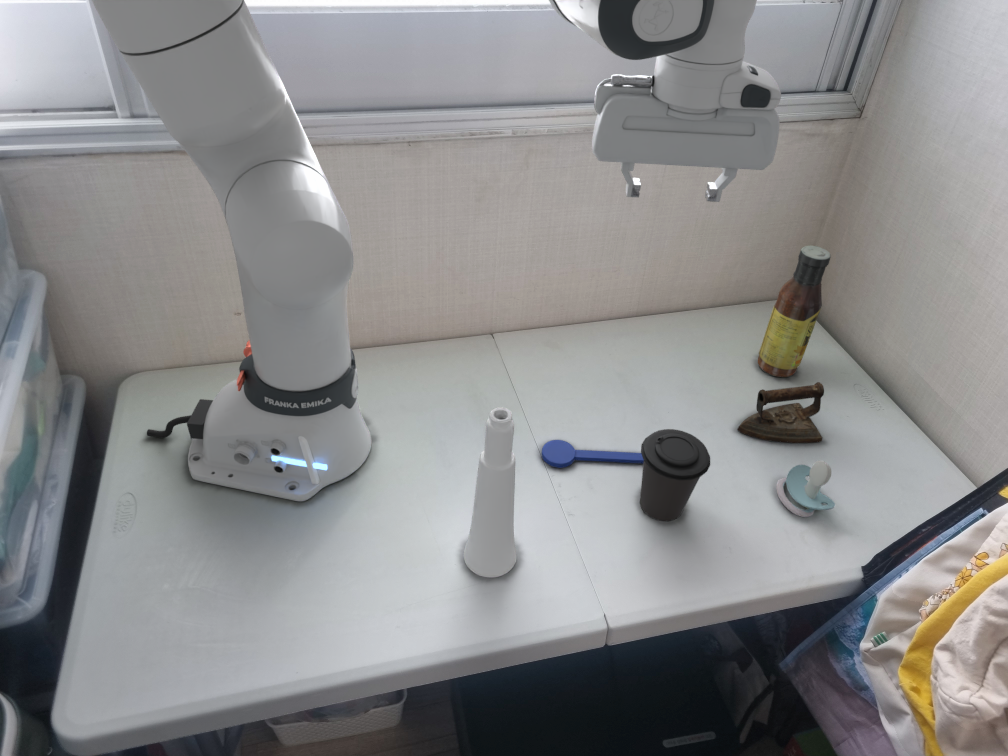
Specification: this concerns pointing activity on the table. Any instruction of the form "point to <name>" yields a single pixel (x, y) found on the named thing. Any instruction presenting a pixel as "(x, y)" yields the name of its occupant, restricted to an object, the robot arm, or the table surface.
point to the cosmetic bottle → (494, 501)
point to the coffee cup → (670, 472)
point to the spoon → (582, 455)
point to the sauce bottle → (794, 315)
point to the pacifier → (806, 488)
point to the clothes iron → (785, 416)
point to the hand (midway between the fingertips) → (671, 197)
